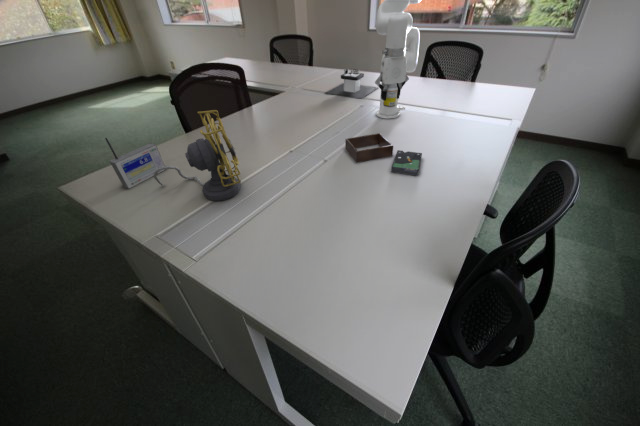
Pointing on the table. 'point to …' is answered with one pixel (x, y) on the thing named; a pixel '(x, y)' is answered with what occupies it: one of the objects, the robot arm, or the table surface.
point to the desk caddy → (368, 154)
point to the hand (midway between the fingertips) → (390, 98)
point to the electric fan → (212, 161)
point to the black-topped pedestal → (352, 86)
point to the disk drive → (406, 162)
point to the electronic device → (137, 164)
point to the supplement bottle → (391, 96)
